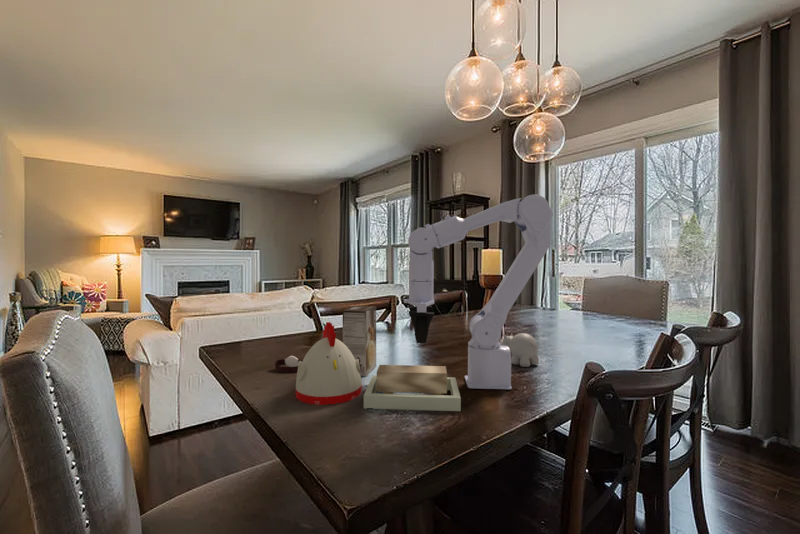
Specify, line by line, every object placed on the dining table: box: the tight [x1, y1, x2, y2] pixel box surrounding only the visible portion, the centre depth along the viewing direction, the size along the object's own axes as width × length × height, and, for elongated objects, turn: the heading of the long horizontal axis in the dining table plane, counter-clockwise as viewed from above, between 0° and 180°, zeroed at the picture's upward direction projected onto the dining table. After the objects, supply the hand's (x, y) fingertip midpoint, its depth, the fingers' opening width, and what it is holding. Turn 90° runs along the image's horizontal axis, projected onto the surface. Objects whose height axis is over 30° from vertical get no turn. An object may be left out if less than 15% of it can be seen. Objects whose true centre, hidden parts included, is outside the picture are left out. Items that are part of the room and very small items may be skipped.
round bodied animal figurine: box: [499, 332, 540, 368], centre depth 105 cm, size 7×12×8 cm, turn 30°
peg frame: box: [363, 374, 462, 412], centre depth 78 cm, size 18×12×2 cm
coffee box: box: [342, 305, 377, 377], centre depth 97 cm, size 9×6×16 cm
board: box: [376, 364, 448, 394], centre depth 78 cm, size 14×5×4 cm, turn 86°
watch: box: [274, 355, 303, 373], centre depth 97 cm, size 8×5×4 cm, turn 85°
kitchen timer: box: [295, 321, 363, 406], centre depth 81 cm, size 14×14×15 cm
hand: (420, 339), depth 89 cm, fingers open, 7 cm apart
